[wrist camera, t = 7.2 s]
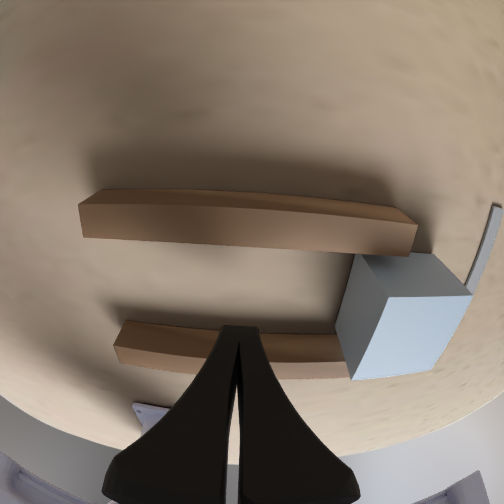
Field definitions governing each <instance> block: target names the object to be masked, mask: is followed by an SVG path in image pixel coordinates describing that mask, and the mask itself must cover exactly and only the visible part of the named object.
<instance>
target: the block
mask: <svg viewBox="0 0 504 504" xmlns="http://www.w3.org/2000/svg"><path fill="white" fill-rule="evenodd" d="M472 297H473V294H472V293H471V292H470V291H469V290H468V289H467V288H466V287H465V286H464V284H463V283H462V282H461V281H460V280H459V279H458V278H457V277H456V276H455V275H454V274H453V273H452V272H451V271H450V270H449V269H448V268H447V267H446V266H445V265H444V264H443V263H442V262H441V261H440V260H439V259H438V258H437V257H436V256H435V255H434V254H425V253H413V252H410V254H409V257H399V256H385V255H370V254H355V257H354V261H353V265H352V269H351V272H350V276H349V280H348V283H347V287H346V290H345V294H344V297H343V301H342V304H341V307H340V311H339V314H338V317H337V320H336V323H335V329H336V332H337V335H338V339H339V342H340V345H341V348H342V351H343V355H344V358H345V361H346V365H347V368H348V371H349V375H350V378H351V381H353V380H364V379H373V378H382V377H390V376H397V375H404V374H410V373H416V372H422V371H427V370H431V369H432V367H433V366H434V364H435V363H436V361H437V360H438V358H439V357H440V355H441V353H442V352H443V350H444V349H445V347H446V345H447V344H448V342H449V340H450V339H451V337H452V335H453V333H454V332H455V330H456V328H457V326H458V325H459V323H460V321H461V319H462V317H463V315H464V313H465V311H466V309H467V307H468V306H469V303H470V301H471V299H472Z"/></svg>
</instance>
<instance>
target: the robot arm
mask: <svg viewBox="0 0 504 504" xmlns="http://www.w3.org/2000/svg"><path fill="white" fill-rule="evenodd" d="M236 387H237V392H238V409H239V425H240V454H239V481H238V504H351V503H353V502H355V501H357V500H358V499H359V498H360V489H359V485H358V483H357V480H356V478H355V475H354V473H353V471H352V469H350V468H349V467H348V466H347V465H346V464H345V463H343V462H342V461H341V460H340V459H339V458H338V457H337V456H336V455H334V454H333V453H332V452H331V451H330V450H329V449H328V448H327V447H326V446H325V445H324V444H323V443H322V442H321V441H320V439H319V438H318V437H317V436H316V435H315V434H314V432H313V431H312V430H311V429H310V428H309V427H308V425H307V424H306V423H305V422H304V420H303V419H302V418H301V416H300V415H299V414H298V412H297V411H296V410H295V408H294V407H293V405H292V404H291V402H290V401H289V399H288V397H287V396H286V394H285V392H284V391H283V389H282V387H281V385H280V383H279V382H278V380H277V378H276V376H275V374H274V372H273V369H272V367H271V365H270V363H269V361H268V358H267V356H266V353H265V350H264V348H263V345H262V342H261V338H260V334H259V329H258V328H257V327H247V326H230V325H223V326H222V327H221V329H220V332H219V335H218V337H217V340H216V342H215V344H214V346H213V348H212V350H211V352H210V354H209V356H208V357H207V359H206V361H205V363H204V365H203V366H202V368H201V369H200V371H199V372H198V374H197V375H196V377H195V378H194V380H193V381H192V383H191V384H190V386H189V387H188V388H187V390H186V391H185V392H184V393H183V395H182V396H181V397H180V398H179V400H178V401H177V402H176V403H175V404H174V405H173V407H172V408H171V409H168V408H162V407H156V406H151V405H146V404H141V403H133V405H132V408H133V410H134V411H135V413H136V415H137V417H138V419H139V421H140V423H141V424H142V426H143V429H142V433H141V437H140V438H139V439H138V440H137V441H135V442H134V443H133V444H131V445H130V446H128V447H127V448H126V449H124V450H123V451H122V452H120V453H119V454H117V455H116V456H115V457H114V458H113V460H112V462H111V464H110V466H109V468H108V470H107V472H106V475H105V479H104V483H103V487H102V493H103V494H104V495H105V496H106V497H108V498H110V499H111V500H113V501H111V502H108V504H226V484H227V462H228V443H229V432H230V425H231V419H232V412H233V406H234V400H235V393H236ZM0 504H96V503H93V502H90V501H88V500H85V499H83V498H81V497H78V496H76V495H74V494H72V493H70V492H67V491H65V490H63V489H61V488H59V487H57V486H55V485H53V484H51V483H49V482H47V481H46V480H44V479H42V478H40V477H38V476H37V475H35V474H33V473H31V472H30V471H28V470H26V469H25V468H23V467H21V466H20V464H18V463H17V462H16V461H14V460H13V459H12V458H10V457H9V456H7V455H6V454H5V453H3V452H2V451H0ZM413 504H490V503H489V499H488V496H487V493H486V489H485V486H484V483H483V480H482V477H481V474H480V471H476V472H474V473H473V474H471V475H469V476H467V477H465V478H464V479H462V480H460V481H458V482H456V483H455V484H453V485H451V486H450V487H448V488H447V489H445V490H443V491H441V492H439V493H437V494H434V495H432V496H430V497H428V498H425V499H423V500H421V501H418V502H415V503H413Z"/></svg>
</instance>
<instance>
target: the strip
mask: <svg viewBox="0 0 504 504" xmlns="http://www.w3.org/2000/svg"><path fill="white" fill-rule="evenodd" d="M503 212H504V209H502V208H499V207H496V206H493V205H492V209H491V213H490V216H489V220H488V223H487V227H486V230H485V233H484V236H483V239H482V242H481V245H480V248H479V251H478V253H477V256H476V259H475V261H474V264H473V267H472V269H471V272H470V274H469V276H468V279H467V281H466V284H465V287H466V288H467V289H468V290H469V291H470V292H471V293H472V294H473V293H474V291H475V289H476V287H477V285H478V282H479V280H480V278H481V275H482V273H483V271H484V268H485V266H486V263H487V261H488V258H489V255H490V253H491V250H492V247H493V244H494V241H495V238H496V235H497V232H498V229H499V226H500V222H501V219H502V215H503Z"/></svg>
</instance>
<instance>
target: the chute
mask: <svg viewBox="0 0 504 504" xmlns="http://www.w3.org/2000/svg"><path fill="white" fill-rule="evenodd" d="M78 207H79V214H80V220H81V226H82V232H83V237H85V238H104V239H122V240H140V241H158V242H176V243H193V244H210V245H227V246H244V247H260V248H277V249H293V250H308V251H324V252H339V253H355V254H370V255H385V256H399V257H409V254H410V251H411V248H412V245H413V241H414V238H415V235H416V231H417V228H418V225H417V224H416V223H415V222H414V221H412V220H411V219H410V218H409V217H407V216H406V215H405V214H404V213H402V212H401V211H400V210H398V209H397V208H395V207H388V206H381V205H374V204H367V203H359V202H351V201H342V200H333V199H324V198H314V197H304V196H293V195H281V194H267V193H253V192H236V191H215V190H185V189H103V190H101V191H99V192H97V193H96V194H94V195H92V196H91V197H89V198H87V199H86V200H84V201H82V202H81V203H79V204H78ZM219 332H220V331H216V330H204V329H193V328H183V327H174V326H165V325H157V324H149V323H142V322H135V321H128V320H126V321H125V323H124V325H123V327H122V329H121V331H120V333H119V335H118V337H117V339H116V341H115V343H114V345H113V346H114V349H115V351H116V354H117V357H118V359H119V362H120V363H124V364H130V365H135V366H140V367H146V368H152V369H159V370H165V371H172V372H180V373H188V374H198V372H199V371H200V369H201V368H202V366H203V365H204V363H205V361H206V359H207V357H208V356H209V354H210V352H211V350H212V348H213V346H214V344H215V342H216V340H217V337H218V335H219ZM259 334H260V338H261V342H262V345H263V348H264V350H265V353H266V356H267V358H268V361H269V363H270V365H271V367H272V369H273V372H274V374H275V376H276V378H277V379H325V378H343V377H350V375H349V371H348V368H347V365H346V361H345V358H344V355H343V351H342V348H341V345H340V342H339V339H338V335H337V334H268V333H259Z"/></svg>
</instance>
